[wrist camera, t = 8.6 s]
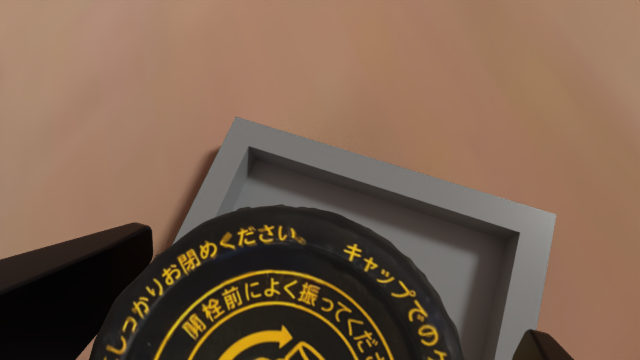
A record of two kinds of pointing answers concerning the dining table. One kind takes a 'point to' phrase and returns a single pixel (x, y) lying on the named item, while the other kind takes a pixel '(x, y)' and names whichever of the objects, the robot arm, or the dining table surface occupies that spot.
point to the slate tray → (399, 225)
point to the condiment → (279, 295)
